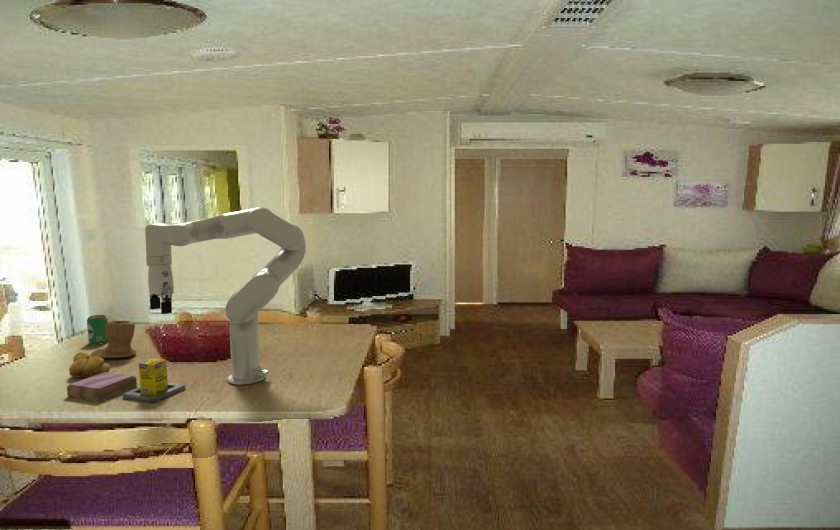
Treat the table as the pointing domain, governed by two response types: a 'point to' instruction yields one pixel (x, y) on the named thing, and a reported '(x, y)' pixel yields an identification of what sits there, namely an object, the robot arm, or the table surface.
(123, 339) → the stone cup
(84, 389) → the pedestal
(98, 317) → the beverage can
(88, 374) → the bread roll
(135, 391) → the frame
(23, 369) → the table surface
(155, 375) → the supplement box
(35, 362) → the table surface
